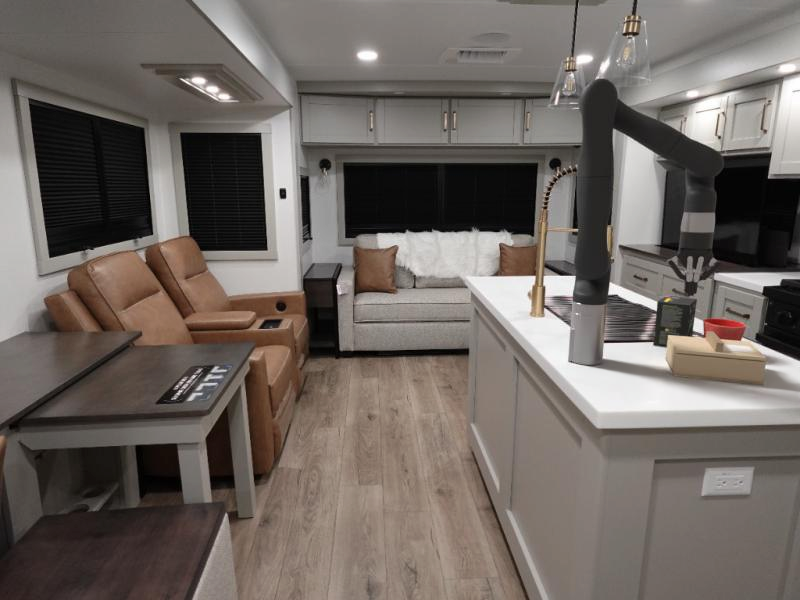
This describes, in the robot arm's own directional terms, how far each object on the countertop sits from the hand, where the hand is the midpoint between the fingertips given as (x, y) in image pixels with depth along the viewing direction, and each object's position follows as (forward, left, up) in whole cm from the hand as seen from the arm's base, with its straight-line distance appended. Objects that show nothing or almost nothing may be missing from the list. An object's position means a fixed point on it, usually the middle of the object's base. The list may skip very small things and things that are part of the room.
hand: (689, 295), depth 137 cm
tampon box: (+1, +24, -21) cm, 32 cm away
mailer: (+7, 0, -20) cm, 22 cm away
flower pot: (+13, +18, -21) cm, 30 cm away
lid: (+7, 0, -14) cm, 16 cm away
